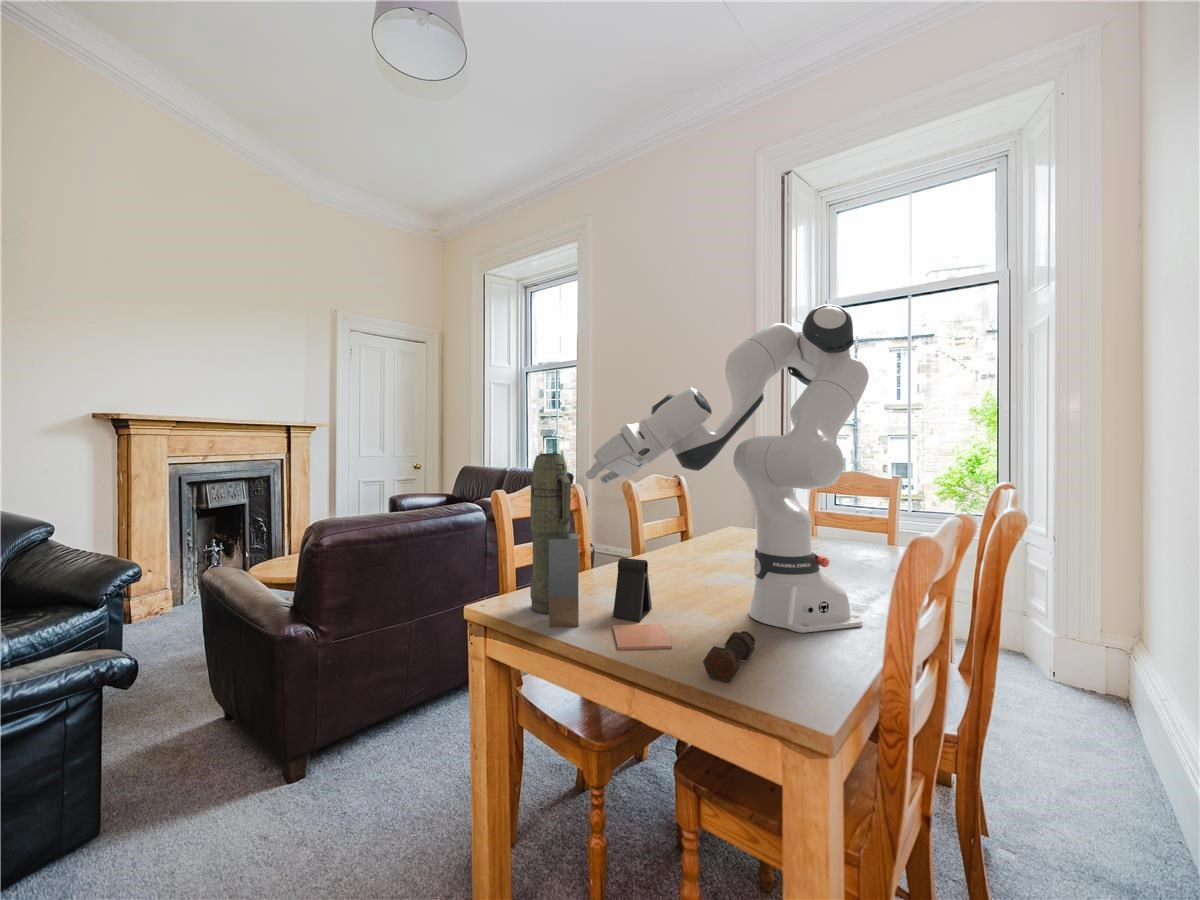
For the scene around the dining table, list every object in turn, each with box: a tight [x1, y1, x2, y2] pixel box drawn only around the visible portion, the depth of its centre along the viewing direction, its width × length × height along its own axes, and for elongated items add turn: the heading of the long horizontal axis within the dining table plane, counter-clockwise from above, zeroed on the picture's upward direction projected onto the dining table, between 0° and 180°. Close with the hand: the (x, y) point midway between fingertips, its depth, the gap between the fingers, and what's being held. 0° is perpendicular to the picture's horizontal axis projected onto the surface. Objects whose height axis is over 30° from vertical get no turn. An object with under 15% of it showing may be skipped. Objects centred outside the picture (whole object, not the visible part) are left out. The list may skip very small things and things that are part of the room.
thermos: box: [529, 453, 572, 616], centre depth 117 cm, size 9×12×35 cm
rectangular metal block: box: [548, 533, 581, 628], centre depth 109 cm, size 6×6×18 cm
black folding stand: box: [612, 557, 653, 623], centre depth 114 cm, size 9×6×12 cm, turn 157°
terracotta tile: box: [612, 623, 673, 651], centre depth 101 cm, size 10×11×1 cm
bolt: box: [702, 630, 756, 684], centre depth 89 cm, size 6×5×15 cm
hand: (595, 479), depth 118 cm, fingers open, 8 cm apart
